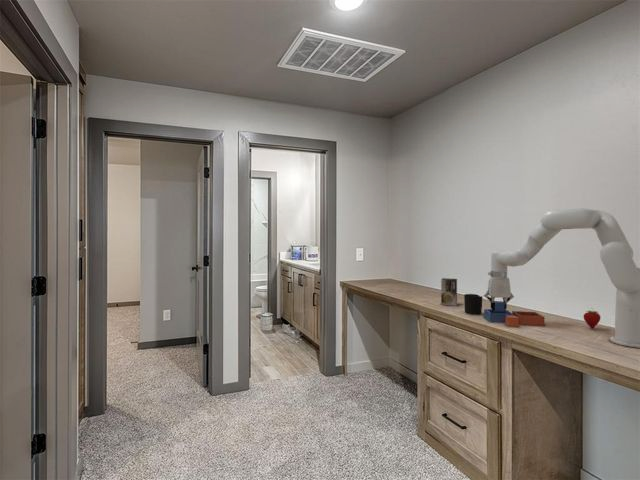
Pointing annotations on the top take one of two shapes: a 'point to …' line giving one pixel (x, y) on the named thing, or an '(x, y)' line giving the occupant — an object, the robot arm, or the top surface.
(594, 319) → the strawberry
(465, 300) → the pen holder
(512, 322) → the terracotta block
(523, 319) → the terracotta bin
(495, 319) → the blue bin
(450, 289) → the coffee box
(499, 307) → the blue block
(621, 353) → the top surface
